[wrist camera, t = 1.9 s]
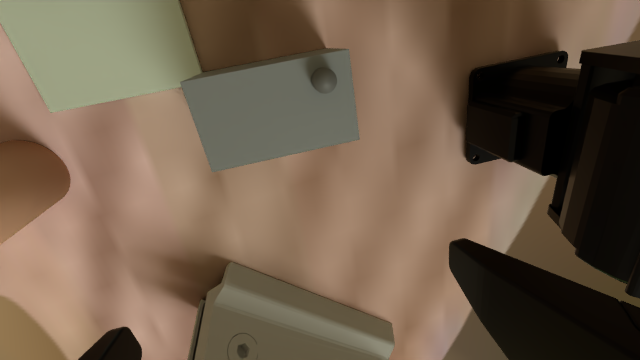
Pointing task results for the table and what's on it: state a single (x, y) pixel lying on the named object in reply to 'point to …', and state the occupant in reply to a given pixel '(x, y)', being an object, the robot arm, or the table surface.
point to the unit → (273, 107)
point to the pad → (100, 48)
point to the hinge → (282, 323)
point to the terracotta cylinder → (28, 184)
